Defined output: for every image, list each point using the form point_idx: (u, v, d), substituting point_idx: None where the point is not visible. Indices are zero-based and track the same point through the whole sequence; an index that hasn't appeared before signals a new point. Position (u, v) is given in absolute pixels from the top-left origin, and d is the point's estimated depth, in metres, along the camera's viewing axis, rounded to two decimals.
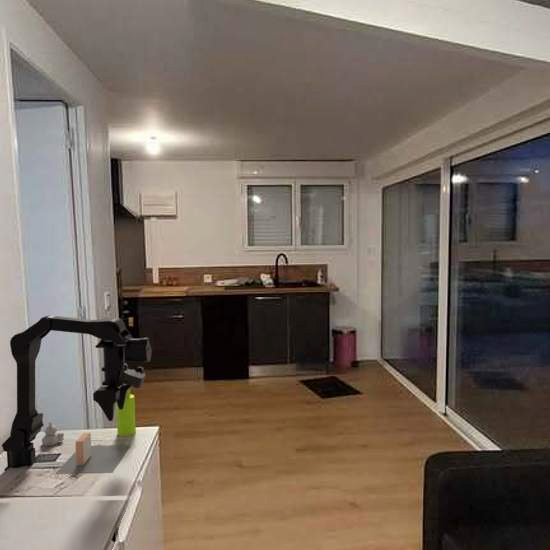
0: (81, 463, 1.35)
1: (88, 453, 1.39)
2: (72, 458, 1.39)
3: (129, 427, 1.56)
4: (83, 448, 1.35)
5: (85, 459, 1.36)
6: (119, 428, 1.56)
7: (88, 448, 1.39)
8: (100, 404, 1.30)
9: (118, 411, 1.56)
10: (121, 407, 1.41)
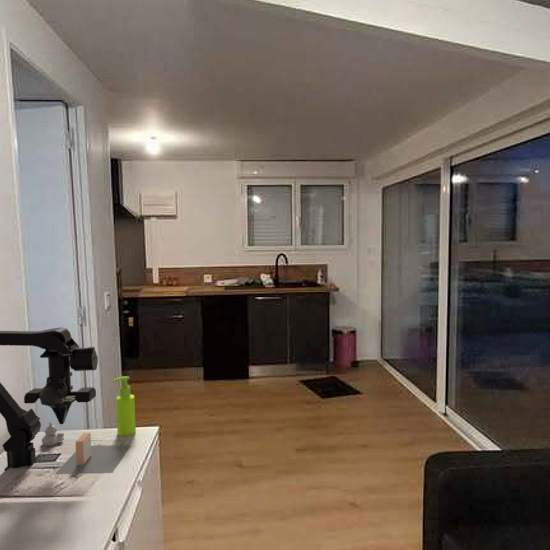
0: (81, 463, 1.35)
1: (88, 453, 1.39)
2: (72, 458, 1.39)
3: (129, 427, 1.56)
4: (83, 448, 1.35)
5: (85, 459, 1.36)
6: (119, 428, 1.56)
7: (88, 448, 1.39)
8: None
9: (118, 411, 1.56)
10: None
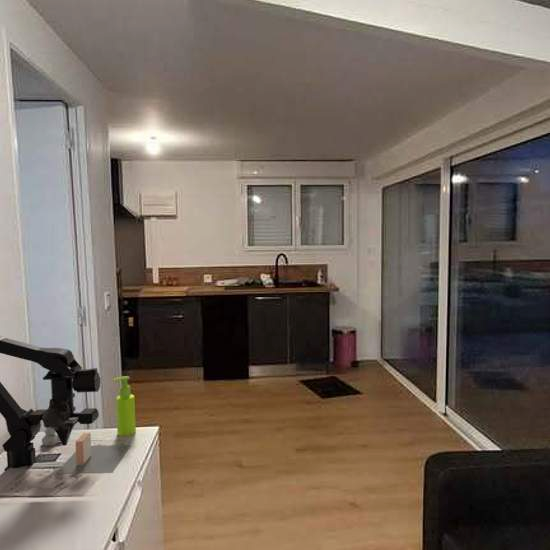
0: (81, 463, 1.35)
1: (88, 453, 1.39)
2: (72, 458, 1.39)
3: (129, 427, 1.56)
4: (83, 448, 1.35)
5: (85, 459, 1.36)
6: (119, 428, 1.56)
7: (88, 448, 1.39)
8: None
9: (118, 411, 1.56)
10: None
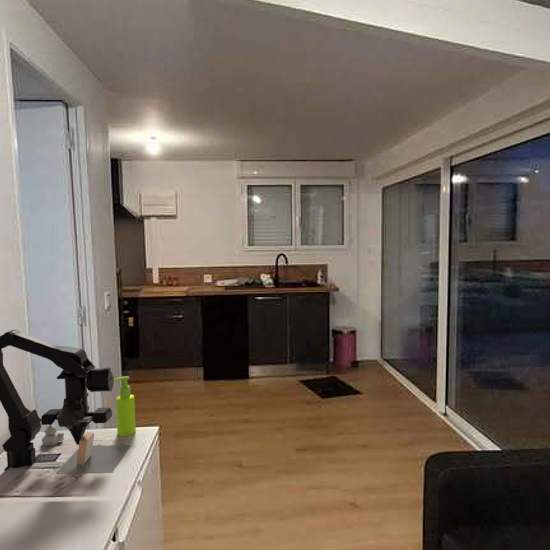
0: (81, 463, 1.35)
1: (89, 453, 1.39)
2: (72, 458, 1.39)
3: (129, 427, 1.56)
4: (86, 448, 1.35)
5: (86, 459, 1.36)
6: (119, 428, 1.56)
7: (90, 448, 1.39)
8: None
9: (118, 411, 1.56)
10: None
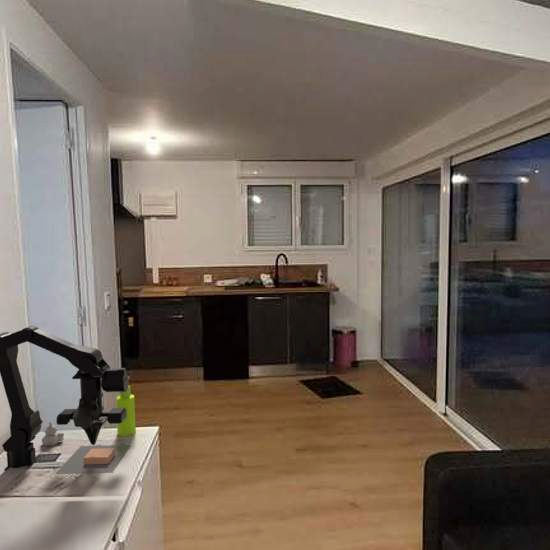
0: (85, 462, 1.35)
1: None
2: (72, 458, 1.39)
3: (129, 427, 1.56)
4: (100, 463, 1.36)
5: None
6: (119, 428, 1.56)
7: None
8: None
9: None
10: None
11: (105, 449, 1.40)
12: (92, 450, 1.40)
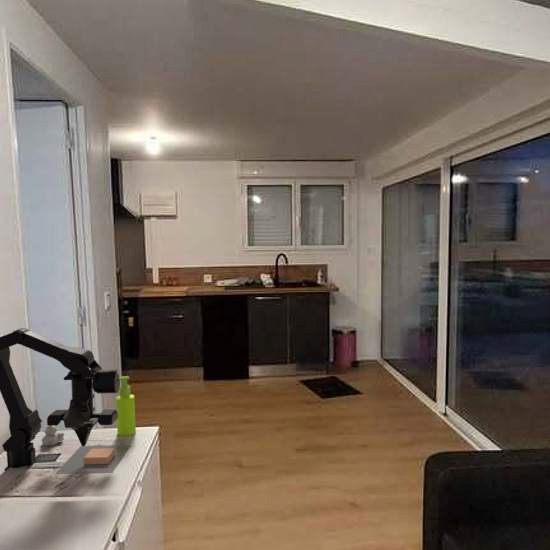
0: (85, 462, 1.35)
1: None
2: (72, 458, 1.39)
3: (129, 427, 1.56)
4: (100, 463, 1.36)
5: None
6: (119, 428, 1.56)
7: None
8: None
9: (118, 411, 1.56)
10: None
11: (105, 449, 1.40)
12: (92, 450, 1.40)
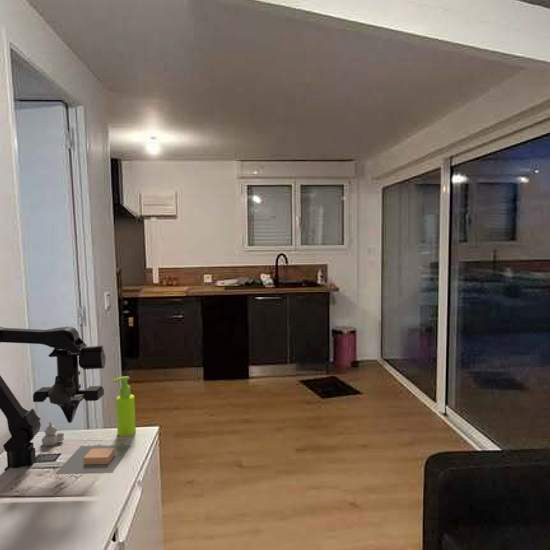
0: (85, 462, 1.35)
1: None
2: (72, 458, 1.39)
3: (129, 427, 1.56)
4: (100, 463, 1.36)
5: None
6: (119, 428, 1.56)
7: None
8: None
9: (118, 411, 1.56)
10: None
11: (105, 449, 1.40)
12: (92, 450, 1.40)
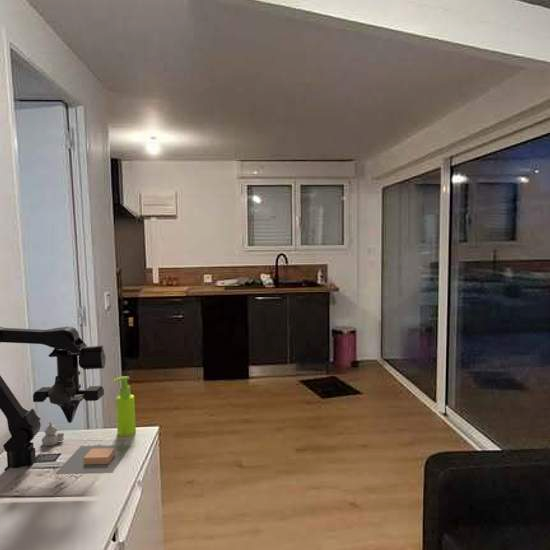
0: (85, 462, 1.35)
1: None
2: (72, 458, 1.39)
3: (129, 427, 1.56)
4: (100, 463, 1.36)
5: None
6: (119, 428, 1.56)
7: None
8: None
9: (118, 411, 1.56)
10: None
11: (105, 449, 1.40)
12: (92, 450, 1.40)
